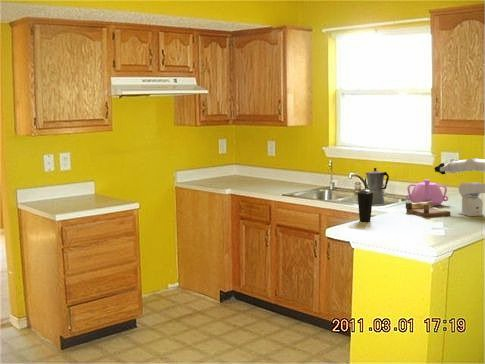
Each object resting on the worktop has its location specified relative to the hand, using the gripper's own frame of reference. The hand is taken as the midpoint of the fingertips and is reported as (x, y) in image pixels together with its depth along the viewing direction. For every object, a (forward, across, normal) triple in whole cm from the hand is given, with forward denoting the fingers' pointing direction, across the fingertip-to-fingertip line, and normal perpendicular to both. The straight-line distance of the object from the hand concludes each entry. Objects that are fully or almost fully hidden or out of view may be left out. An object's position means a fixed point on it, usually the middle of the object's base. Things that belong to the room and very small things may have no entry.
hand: (440, 168), depth 307 cm
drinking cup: (-9, +58, +16) cm, 61 cm away
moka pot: (+30, +22, +14) cm, 40 cm away
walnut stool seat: (-7, +20, +20) cm, 29 cm away
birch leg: (-1, +19, +17) cm, 26 cm away
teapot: (+14, +2, +19) cm, 24 cm away
